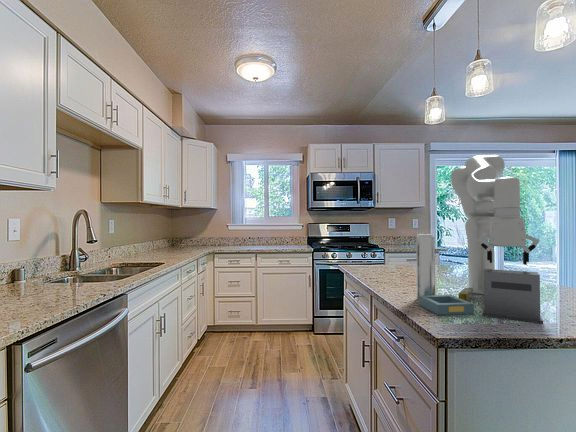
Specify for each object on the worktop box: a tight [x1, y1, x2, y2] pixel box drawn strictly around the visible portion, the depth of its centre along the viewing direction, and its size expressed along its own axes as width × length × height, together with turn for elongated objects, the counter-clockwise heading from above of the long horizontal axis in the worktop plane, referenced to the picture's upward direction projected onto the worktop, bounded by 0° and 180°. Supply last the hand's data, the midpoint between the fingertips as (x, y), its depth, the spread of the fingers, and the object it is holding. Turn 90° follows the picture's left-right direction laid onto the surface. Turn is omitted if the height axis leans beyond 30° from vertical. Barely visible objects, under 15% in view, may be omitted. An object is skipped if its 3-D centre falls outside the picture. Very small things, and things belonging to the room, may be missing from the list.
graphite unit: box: [481, 269, 544, 325], centre depth 99 cm, size 8×15×14 cm, turn 58°
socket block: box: [418, 294, 475, 317], centre depth 106 cm, size 12×12×4 cm
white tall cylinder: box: [415, 233, 436, 301], centre depth 121 cm, size 6×6×25 cm
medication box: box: [458, 288, 474, 302], centre depth 119 cm, size 12×3×4 cm, turn 140°
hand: (507, 263), depth 108 cm, fingers open, 9 cm apart
